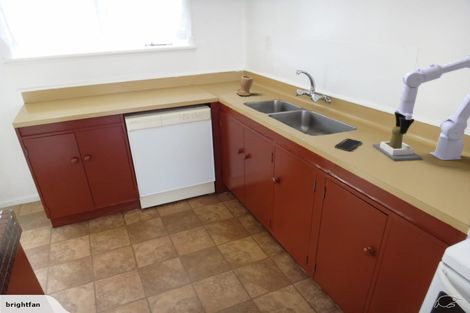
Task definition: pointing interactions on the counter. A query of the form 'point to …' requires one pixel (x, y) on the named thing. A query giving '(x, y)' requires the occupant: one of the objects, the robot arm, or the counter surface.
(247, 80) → the stone cup
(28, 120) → the counter surface
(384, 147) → the socket dock
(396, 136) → the cork
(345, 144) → the phone
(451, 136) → the robot arm
